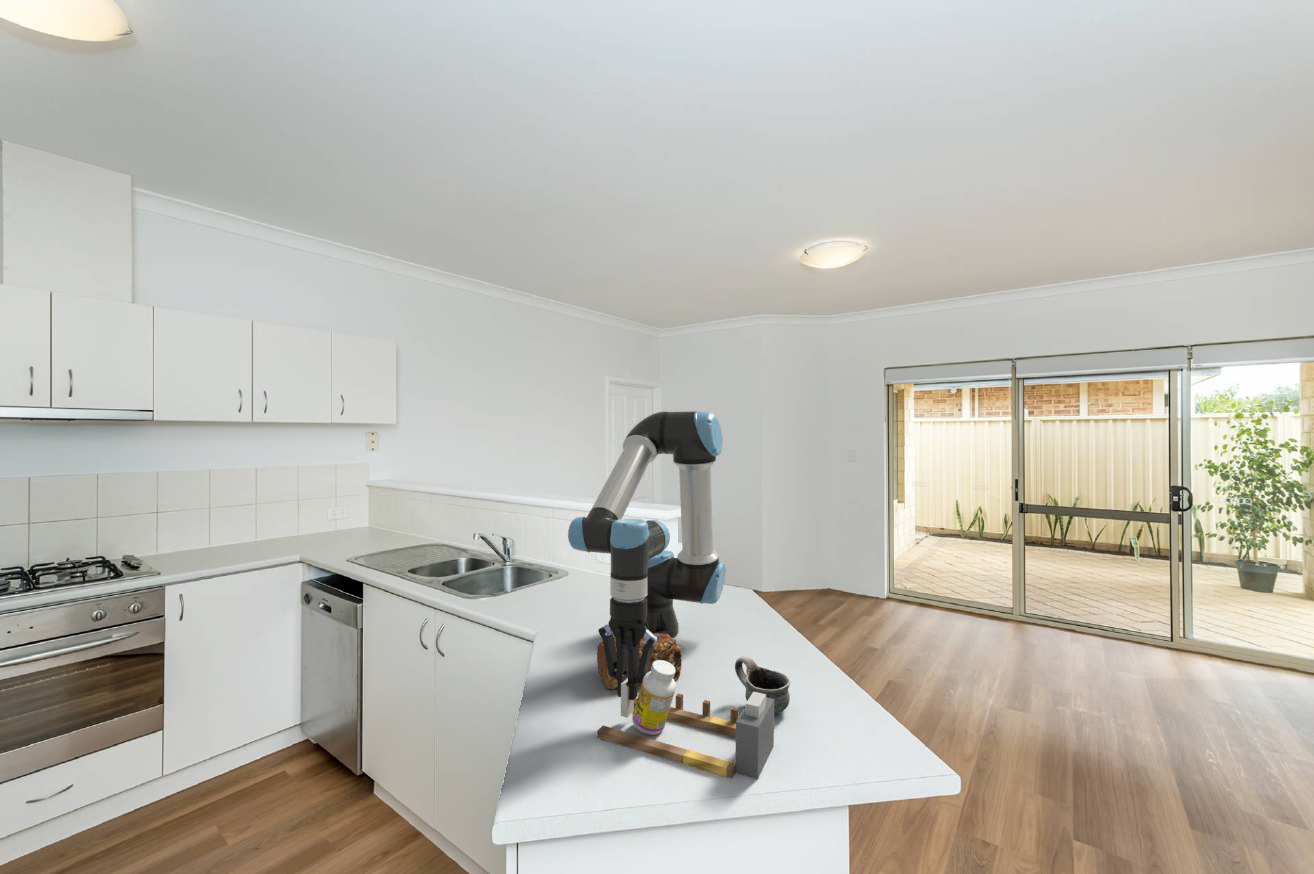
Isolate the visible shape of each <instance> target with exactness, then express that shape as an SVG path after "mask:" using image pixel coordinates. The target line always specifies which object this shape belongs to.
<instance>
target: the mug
mask: <svg viewBox="0 0 1314 874" xmlns="http://www.w3.org/2000/svg"><path fill="white" fill-rule="evenodd" d="M743 664H744V665H745V667H746V669H745V670H746V672H745V671H744V667H743ZM734 671H735V674H736V676H737V678H738V680H739V681H740V682H741V683H742V685H743V686H744V687H745V700H746V702H747V701H748V699H749V698H750V696H751V695H752V693H753V692H758V693H762V694H766V697H768V698H772V699H774V716H776V715H779V714H781V713H783V712H784V711H785V710H786V709H787V708H788V707H789V704H790V696H791V695H790V692H789V687H790V685H791V680H790V679H791V678H790V677H789V676H787V675H786V674H785V673H782V672H780V671H777V670H772V669H769V668H767V667H766V668H765V667H761V666H758V665H757V663H756V661H755V660H754V659H753V658H751V657H750V656H747V655H743V656H740V657H738V658H737V659H736V660H735V664H734Z"/></svg>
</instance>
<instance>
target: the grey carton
mask: <svg viewBox="0 0 1314 874" xmlns="http://www.w3.org/2000/svg"><path fill="white" fill-rule="evenodd" d="M774 737H775V715H774V699H772V698H768V697H766V694H762V693H758V692H753V693H752V695H751V696H750V698H749V699H748V701H747V700H746V703H745V707H744V708H743V710H742V712H741V713H740V715H738V719H737V721H736V737H735V757H734V758H735V759H734V762H733V763H734V764H735V774H737V775H741V776H744V777H748V778H752V779H754V780H759V778H760V776H761V774H762V772H763V769H764V767H765V765H766V763H767V761H768V759H769V757H770V755H771V752H772V751H773V749H774V743H775V741H774V739H775V738H774Z"/></svg>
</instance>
